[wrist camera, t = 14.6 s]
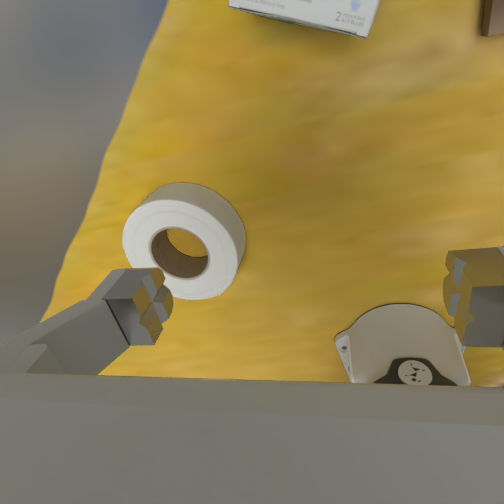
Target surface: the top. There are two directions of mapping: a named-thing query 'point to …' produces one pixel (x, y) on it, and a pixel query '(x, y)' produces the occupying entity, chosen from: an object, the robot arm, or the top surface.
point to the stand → (493, 18)
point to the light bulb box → (316, 13)
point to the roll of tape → (195, 222)
